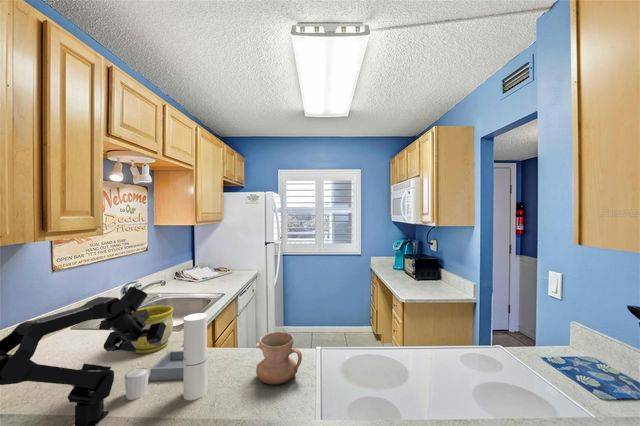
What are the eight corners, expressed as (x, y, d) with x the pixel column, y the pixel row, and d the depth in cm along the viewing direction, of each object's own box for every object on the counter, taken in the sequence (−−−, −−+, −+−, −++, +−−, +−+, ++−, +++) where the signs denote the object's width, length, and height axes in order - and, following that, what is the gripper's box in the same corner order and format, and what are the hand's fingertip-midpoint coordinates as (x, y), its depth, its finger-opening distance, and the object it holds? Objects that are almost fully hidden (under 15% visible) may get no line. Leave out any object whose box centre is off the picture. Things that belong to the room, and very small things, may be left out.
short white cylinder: (136, 402, 87) (136, 379, 87) (118, 399, 88) (118, 377, 89) (153, 389, 94) (154, 368, 94) (136, 387, 95) (137, 366, 95)
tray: (190, 378, 100) (190, 367, 100) (150, 380, 99) (150, 369, 99) (204, 359, 114) (204, 349, 114) (169, 361, 113) (169, 351, 113)
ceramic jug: (245, 384, 95) (245, 343, 96) (265, 363, 109) (265, 327, 109) (293, 394, 90) (293, 350, 90) (308, 371, 104) (308, 333, 104)
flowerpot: (178, 347, 126) (178, 310, 127) (131, 361, 113) (132, 320, 114) (166, 336, 139) (166, 303, 139) (123, 347, 126) (123, 311, 127)
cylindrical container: (200, 384, 96) (200, 311, 97) (211, 392, 91) (211, 316, 92) (179, 394, 90) (179, 317, 91) (189, 403, 86) (189, 322, 87)
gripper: (160, 298, 97) (180, 323, 106) (107, 308, 96) (131, 332, 106) (148, 327, 88) (171, 351, 97) (90, 338, 87) (118, 362, 97)
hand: (148, 348), depth 99 cm, fingers open, 9 cm apart
